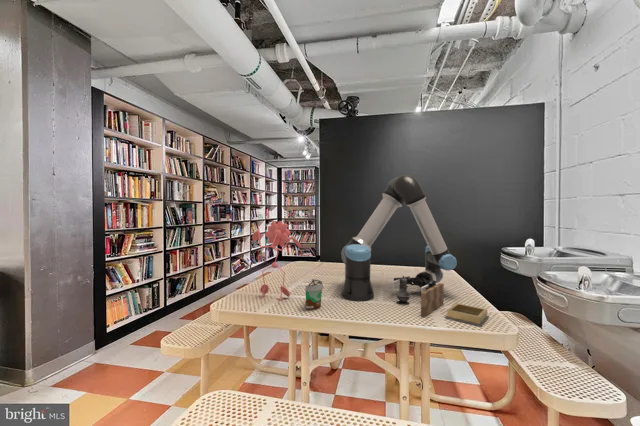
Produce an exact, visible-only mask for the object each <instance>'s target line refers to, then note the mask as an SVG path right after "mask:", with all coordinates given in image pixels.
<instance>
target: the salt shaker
mask: <svg viewBox="0 0 640 426" xmlns="http://www.w3.org/2000/svg"><path fill="white" fill-rule="evenodd" d="M401 277H402V278H401ZM401 277H399V278H400V285H399V286H398V287H399V292H398V293H396V298H397V300H398V301H397V302H396V304H398V305H402V306H409V305H410V302H409V300H410V297H411V295H410V294H409V292H408V287H409V286H408V284H407V279H406V278H404V277H405V275H402V276H401Z"/></svg>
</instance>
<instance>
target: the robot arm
mask: <svg viewBox="0 0 640 426" xmlns="http://www.w3.org/2000/svg"><path fill="white" fill-rule="evenodd" d="M426 199H427V196H426V193H425V192H424V189H423V187H422V186H421V184H420V182H419V180H418V179H417V178H416V177H415V176H414V175H410V174H402V175H399V176H397V177H396V176H395V177H393V178H392V179H391V180H389V181H388V183H387V185H386V188H385V190H384V191H383V193H382V199H381V201H380V202H379V203H378V205H377V206H376V208H375V210H374V211H373V212H372V214H371V215H370V217H369V218H368V220H367V221H366V222H365V224H364V225H363V227H362V229H361V230H360V231H359V233H358V234H357V235H356V236H353V237H351V239H350V240H349V242H348V243H347V244H346V245H345V246H343V248H342V250H341V253H340V254H341V256H340V257H341V261H342V262H343V264H344V269H345V270H344V271H345V272H344V281H343V285H342V288H341V291H340V292H341V294H340V295H341V298H343V299H346V300H349V301H352V302H353V301H356V302H364V301H365V302H366V301H370V300H373V299H374V298H375V291H374V288H373V284H372V281H371V262H372V261H371V256H372V246H373V244H374V242H375V241H376V240H377V238H378V237H379V235H380V234H381V232H382V231H383V229H384V228H385V227H386V224H388V222H389V221H390V219H391V217H392V216H393V214H395V211H396V210H397V209H398V208H401V207H403V205H404V204H405V205H406V207H409V208H410V209H409V210H410V211H411V213H412V214H413V215H412V216H413V217H414V219H415V221H416V223H417V225H418V227H419V230H420V232H421V234H422V236H423V238H424V240H425V243H426V244H427V245H426V246H425V251H424V255H425V256H424V257H425V258H424V259H425V260H424V261H425V263H424V264H425V265H424V267H425V268H424V269H425V270H424V271H422V272H419V273H417V274H416V275H415V277H414V276H413V277H410V276H409V275H408V276H404V278H406V279H407V285H409V286H418V288H420V294H421V293H422V292H423V291H425V290H427V289H429V288H431V287H433V286H435V285H437V284H439V283H441V282H440V281H442V280H443V278H444V273H443V270H444V271H447V272H449V271H453V270H454V269H456V267H457V263H458V262H457V258H456V257H455V256H453V254H451V253H450V251H449V248H448V247H447V244H446V242H445V240H444V238H443V236H442V233H441V232H440V228H439V226H438V225H437V223H436V220H435V218H434V216H433V214H432V212H431V209H430V208H429V205H428V204H427V201H426ZM402 277H403V276H401V277H394V278H393V281H391V289H395V288H398V287H399V285H400V278H402Z"/></svg>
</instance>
